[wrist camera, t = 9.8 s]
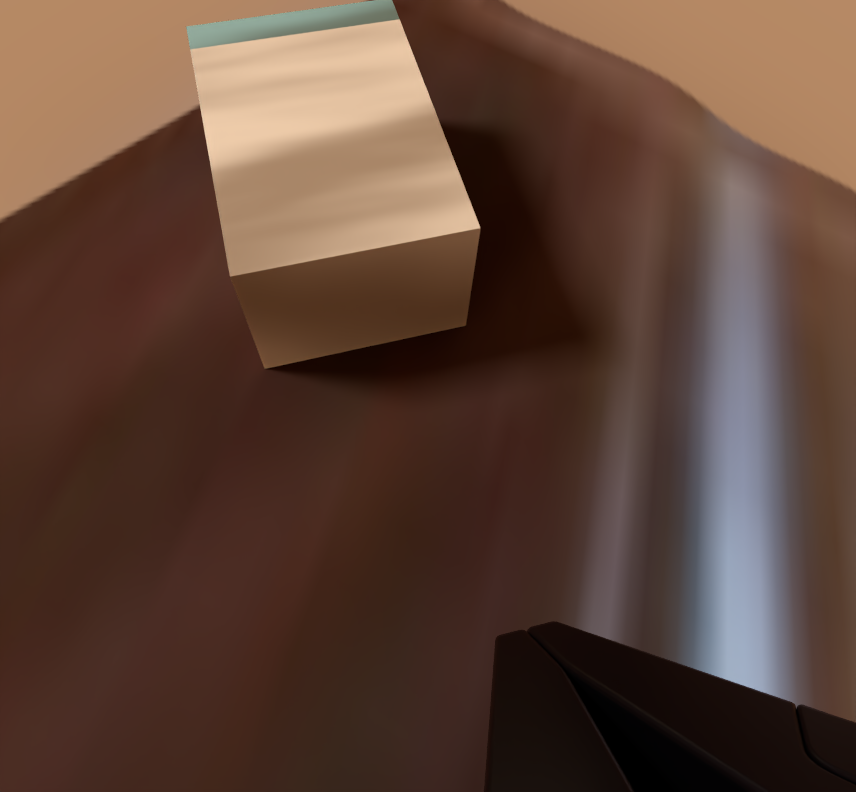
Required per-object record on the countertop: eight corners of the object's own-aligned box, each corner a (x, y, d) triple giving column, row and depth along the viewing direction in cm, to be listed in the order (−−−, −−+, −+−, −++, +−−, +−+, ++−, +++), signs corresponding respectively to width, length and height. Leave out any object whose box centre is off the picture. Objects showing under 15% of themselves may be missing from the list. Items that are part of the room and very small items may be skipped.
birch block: (480, 227, 16) (391, -2, 20) (230, 276, 16) (186, 26, 19) (465, 326, 20) (393, 118, 24) (265, 369, 19) (222, 146, 23)
